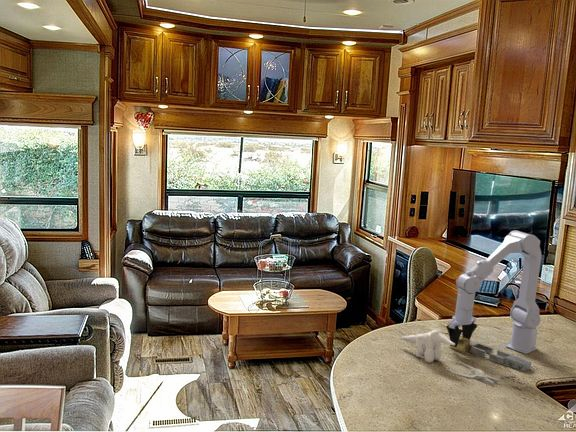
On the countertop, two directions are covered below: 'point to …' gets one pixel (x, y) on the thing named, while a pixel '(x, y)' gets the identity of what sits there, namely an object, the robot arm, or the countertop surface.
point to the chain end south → (479, 349)
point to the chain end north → (510, 361)
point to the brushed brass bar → (462, 345)
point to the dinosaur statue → (428, 344)
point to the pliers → (478, 376)
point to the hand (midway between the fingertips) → (459, 344)
